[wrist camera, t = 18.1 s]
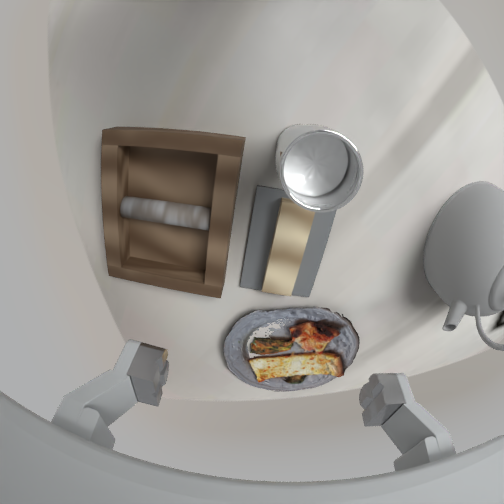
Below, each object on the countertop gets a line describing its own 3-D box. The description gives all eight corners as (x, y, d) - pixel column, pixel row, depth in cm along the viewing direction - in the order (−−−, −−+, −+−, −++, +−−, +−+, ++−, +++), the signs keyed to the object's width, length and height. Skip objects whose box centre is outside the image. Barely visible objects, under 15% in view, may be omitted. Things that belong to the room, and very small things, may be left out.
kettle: (435, 320, 46) (480, 409, 26) (391, 246, 39) (462, 356, 19) (517, 247, 37) (580, 312, 17) (492, 155, 30) (594, 207, 10)
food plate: (364, 296, 43) (370, 309, 40) (348, 377, 54) (350, 390, 51) (215, 303, 46) (211, 317, 43) (235, 382, 58) (234, 394, 54)
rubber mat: (257, 185, 36) (257, 186, 35) (338, 201, 36) (338, 202, 36) (240, 285, 43) (239, 286, 43) (308, 295, 44) (308, 297, 43)
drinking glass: (262, 156, 34) (259, 187, 21) (290, 110, 31) (307, 108, 18) (309, 183, 35) (333, 230, 22) (337, 139, 32) (382, 160, 19)
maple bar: (281, 197, 36) (282, 201, 34) (314, 203, 36) (316, 208, 35) (262, 284, 43) (261, 291, 41) (290, 289, 43) (290, 296, 41)
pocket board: (117, 126, 32) (102, 129, 29) (245, 137, 33) (242, 140, 29) (119, 262, 43) (108, 275, 39) (224, 282, 43) (220, 298, 40)
